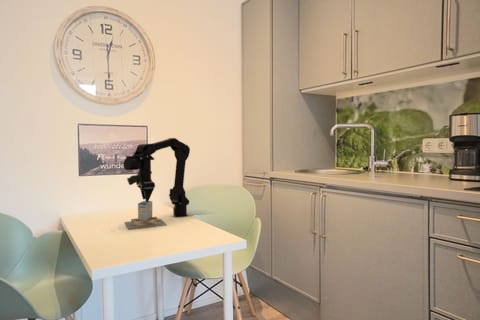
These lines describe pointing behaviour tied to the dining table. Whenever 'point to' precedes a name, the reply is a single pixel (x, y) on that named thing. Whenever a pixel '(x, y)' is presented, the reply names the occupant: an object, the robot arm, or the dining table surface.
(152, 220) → the slot frame
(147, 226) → the mat
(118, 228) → the dining table surface
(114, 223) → the dining table surface
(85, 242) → the dining table surface
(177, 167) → the robot arm
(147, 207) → the medicine box
